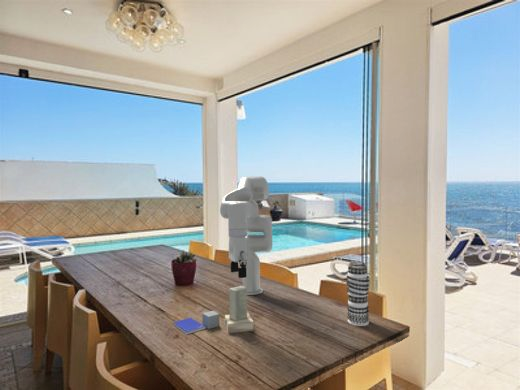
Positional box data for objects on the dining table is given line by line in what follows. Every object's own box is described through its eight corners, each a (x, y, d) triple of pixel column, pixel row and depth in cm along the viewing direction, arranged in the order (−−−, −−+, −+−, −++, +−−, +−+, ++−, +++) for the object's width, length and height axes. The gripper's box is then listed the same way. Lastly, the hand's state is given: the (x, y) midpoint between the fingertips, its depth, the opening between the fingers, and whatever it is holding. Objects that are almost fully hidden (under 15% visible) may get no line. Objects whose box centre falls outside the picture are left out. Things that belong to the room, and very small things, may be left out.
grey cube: (202, 325, 131) (202, 313, 131) (213, 322, 134) (213, 310, 134) (208, 329, 127) (208, 316, 127) (219, 326, 130) (219, 313, 130)
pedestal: (224, 324, 132) (224, 314, 132) (248, 322, 135) (248, 312, 135) (228, 334, 123) (228, 324, 123) (253, 331, 125) (253, 321, 125)
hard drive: (205, 326, 127) (191, 317, 137) (187, 331, 122) (173, 322, 132) (205, 330, 127) (191, 321, 137) (187, 335, 122) (173, 326, 132)
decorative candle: (371, 327, 127) (370, 264, 127) (347, 325, 129) (346, 263, 129) (368, 318, 136) (367, 260, 136) (346, 317, 138) (345, 259, 138)
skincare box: (241, 314, 132) (241, 285, 133) (247, 317, 129) (247, 287, 129) (228, 318, 129) (228, 288, 129) (234, 321, 125) (234, 290, 125)
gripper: (222, 230, 136) (223, 270, 136) (235, 236, 120) (236, 281, 120) (239, 229, 139) (240, 268, 139) (254, 234, 123) (254, 278, 123)
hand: (238, 274), depth 129 cm, fingers open, 9 cm apart
